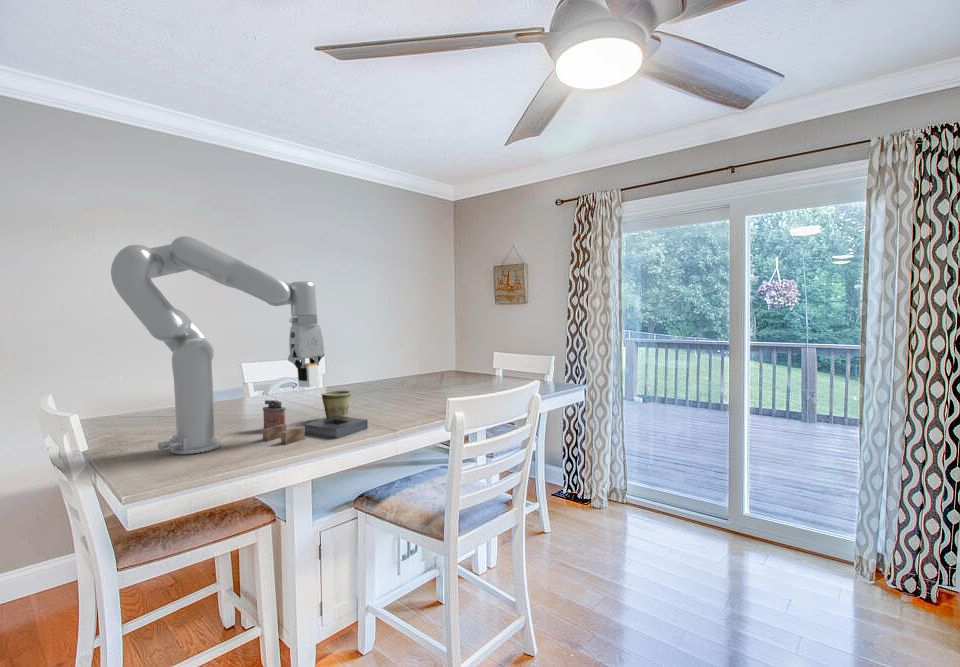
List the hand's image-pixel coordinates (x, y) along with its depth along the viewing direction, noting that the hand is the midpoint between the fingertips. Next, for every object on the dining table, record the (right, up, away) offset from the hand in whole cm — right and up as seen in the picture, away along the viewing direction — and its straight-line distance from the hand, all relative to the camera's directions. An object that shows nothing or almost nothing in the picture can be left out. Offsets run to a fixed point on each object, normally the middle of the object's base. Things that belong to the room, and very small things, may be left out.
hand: (308, 378), depth 151 cm
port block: (+7, -18, +6) cm, 20 cm away
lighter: (-14, -18, +9) cm, 25 cm away
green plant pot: (+3, -17, +23) cm, 29 cm away
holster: (-6, -18, -4) cm, 20 cm away
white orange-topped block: (0, -2, 0) cm, 2 cm away
